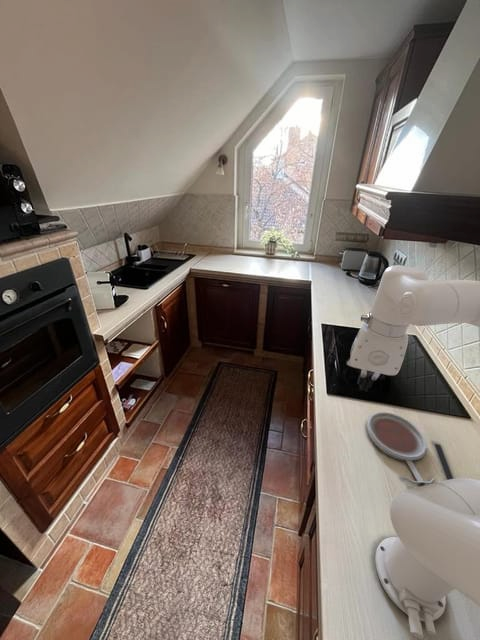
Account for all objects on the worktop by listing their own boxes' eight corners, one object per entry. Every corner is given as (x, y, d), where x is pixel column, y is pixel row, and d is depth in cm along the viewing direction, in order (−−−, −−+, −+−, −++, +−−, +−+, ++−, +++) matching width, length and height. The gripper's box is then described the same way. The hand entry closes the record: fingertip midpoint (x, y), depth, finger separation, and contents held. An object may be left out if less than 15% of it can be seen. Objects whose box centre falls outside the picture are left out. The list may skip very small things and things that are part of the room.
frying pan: (402, 500, 64) (359, 409, 88) (398, 505, 65) (357, 415, 89) (469, 502, 64) (408, 411, 88) (464, 508, 65) (405, 416, 89)
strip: (454, 482, 70) (454, 482, 70) (447, 480, 71) (448, 480, 71) (439, 445, 80) (440, 445, 80) (434, 443, 81) (434, 443, 80)
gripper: (350, 325, 53) (331, 389, 62) (431, 341, 49) (399, 406, 58) (349, 310, 59) (332, 370, 68) (421, 323, 55) (393, 385, 64)
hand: (363, 387), depth 63 cm, fingers closed
